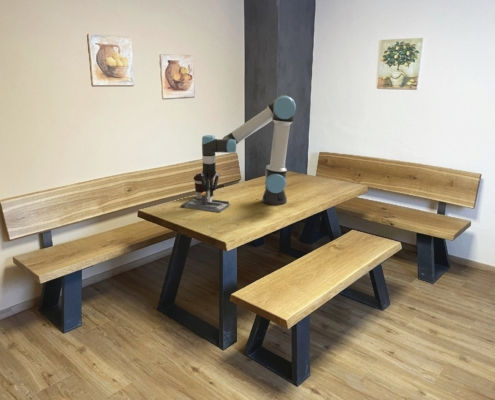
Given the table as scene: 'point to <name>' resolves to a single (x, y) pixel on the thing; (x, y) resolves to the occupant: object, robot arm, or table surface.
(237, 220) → the table surface
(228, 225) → the table surface
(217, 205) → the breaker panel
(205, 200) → the lever
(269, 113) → the robot arm
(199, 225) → the table surface
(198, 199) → the long dark grey rail
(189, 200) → the grey panel edge rail
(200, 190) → the coffee cup
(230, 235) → the table surface
